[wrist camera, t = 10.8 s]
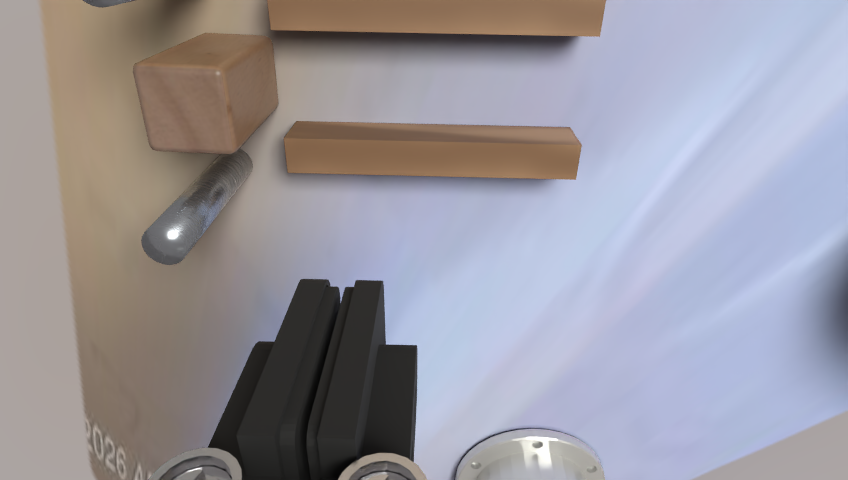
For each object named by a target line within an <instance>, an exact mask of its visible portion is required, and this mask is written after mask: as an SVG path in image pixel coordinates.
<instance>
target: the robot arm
mask: <svg viewBox="0 0 848 480" xmlns="http://www.w3.org/2000/svg"><path fill="white" fill-rule="evenodd" d="M416 403H417V345H386V341H385V311H384V285H383V281H367V280H357V281H356V282H355V285H354V287H346V288H345V290H344V294H343V297H342V301H341V304H340V292H339V288H338V287H330V283H329V280H323V279H301V280H300V282H299V284H298V286H297V289H296V291H295V293H294V296H293V298H292V301H291V303H290V306H289V308H288V311H287V313H286V315H285V318H284V320H283V323H282V325H281V328H280V330H279V333H278V335H277V337H276V340H275V342H260V341H259V342H258V343H256V344H255V346H254V348H253V349H252V351H251V354H250V356H249V358H248V360H247V362H246V365H245V367H244V369H243V371H242V373H241V376H240V378H239V380H238V382H237V384H236V387H235V389H234V391H233V393H232V395H231V398H230V400H229V402H228V404H227V406H226V409H225V411H224V413H223V415H222V417H221V420H220V422H219V424H218V426H217V428H216V431H215V433H214V435H213V437H212V439H211V442H210V444H209V446H208V448H199V449H195V450H190V451H186V452H184V453H182V454H180V455H178V456H175V457H173V458H172V459H170V460H169V461H167V462H166V463H165V464H163V465H162V466H160V467H159V468H158V469H157V470H156V471H155V472H154V474H153V475H152V476H151V477H150V478H149V479H148V480H427V479H426V476H425V474H424V473H423V472H422V470H421V469H420V468H419V466H418V465H417V464H415V463H414V444H415V425H416ZM456 480H605V477H604V471H603V468H602V466H601V463H600V460H599V458H598V457H597V455H596V454H595V452H594V451H593V450H592V449H591V448H590V447H589V446H588V445H586V444H585V443H584V442H582V441H580V440H578V439H577V438H575V437H573V436H570V435H567V434H564V433H561V432H557V431H552V430H545V429H522V430H515V431H510V432H505V433H502V434H499V435H496V436H493V437H491V438H489V439H487V440H485V441H483V442H481V443H479V444H478V445H477V446H475V447H474V448H473V449H471V450H470V451H469V452H468V453H467V454H466V455H465V457H464V458H463V459H462V461H461V463H460V464H459V466H458V468H457V473H456Z"/></svg>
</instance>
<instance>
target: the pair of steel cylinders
mask: <svg viewBox="0 0 848 480" xmlns="http://www.w3.org/2000/svg"><path fill="white" fill-rule="evenodd" d="M83 1H85V2H86V3H88V4H90V5H92V6H96V7H109V6H113V5H117V4H122V3H126V2H130V1H135V0H83ZM251 171H252V161H251V159H250V157H249V156H248V154H247V153H245V152H244V151H242V150H240V149H238V150H237V151H236V152H234V153H232V154H221V155H220V156H219V157H218V158H217V159H216V160H215V161H214V162H213V163H212V164H211V165H210V166H209V167H208V168H207V169H206V170H205V171H204V172H203V173H202V174H201V175H200V176H199V177H198V178H197V179H196V180H195V181H194V182H193V183H192V184H191V185H190V186H189V187H188V188H187V189H186V190H185V191H184V192H183V193H182V194H181V196H180V197H179V198H178V199H177V200H176V201H175V202H174V203H173V204H172V205H171V206H170V207H169V208H168V209H167V210H166V211H165V212H164V213H163V214H162V215H161V216H160V217H159V218H158V219H157V220H156V221H155V222H154V223H153V224H152V225H151V226H150V227H149V228H148V229H147V230H146V231H145V232H144V234H143V236H142V240H141V241H142V247H143V249H144V251H145V252H146V254H147V255H148V256H149V257H150V258H152V259H153V260H155V261H156V262H159V263H161V264H166V265H173V264H177V263H179V262H181V261H182V260H183V259H184V258H185V256H186V255H187V254H188V252H189V251H190V250H191V249H192V247H193V246H194V245H195V243H196V242H197V241H198V240H199V238H200V237H201V236H202V235H203V233H204V232H205V231H206V229H207V228H208V227H209V226H210V224H211V223H212V222H213V220H214V219H215V218H216V217H217V215H218V214H219V213H220V211H221V210H222V209H223V208H224V206H225V205H226V204H227V202H228V201H229V200H230V199H231V197H232V196H233V195H234V194H235V192H236V191H237V190H238V188H239V187H240V186H241V185H242V183H243V182H244V181H245V179H246V178H247V177H248V176H249V174H250V173H251Z"/></svg>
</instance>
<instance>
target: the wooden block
mask: <svg viewBox="0 0 848 480" xmlns="http://www.w3.org/2000/svg"><path fill="white" fill-rule="evenodd" d="M133 74H134V78H135V83H136V87H137V91H138V96H139V100H140V105H141V109H142V114H143V118H144V123H145V127H146V131H147V136H148V140H149V145H150V146H151V148H152V149H153V150H156V151H170V152H193V153H215V154H232V153H234V152H236V151H237V150H238V149H239V148H240V147H241V146H242V145H243V144H244V142H245V141H246V140H247V139H248V138H249V137H250V136H251V135H252V134H253V133H254V132H255V131H256V129H257V128H258V127H259V126H260V125H261V124H262V123H263V122H264V121H265V120H266V119H267V117H268V116H269V115H270V114H271V113H272V112H273V111H274V110H275V109H276V108H277V105H278V94H277V83H276V73H275V63H274V53H273V43H272V41H271V39H270V38H268V37H266V36H260V35H238V34H215V33H204V34H202V35H199V36H197V37H195V38H192V39H190V40H188V41H186V42H183V43H181V44H179V45H177V46H174V47H172V48H170V49H167V50H165V51H163V52H161V53H158V54H156V55H154V56H151V57H149V58H147V59H145V60H142V61H140V62H138V63H135V65H134V68H133Z"/></svg>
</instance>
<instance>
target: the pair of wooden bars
mask: <svg viewBox="0 0 848 480" xmlns="http://www.w3.org/2000/svg"><path fill="white" fill-rule="evenodd" d="M267 2H268V10H269V19H270V27H271V30H295V31H346V32H397V33H447V34H498V35H549V36H599V37H600V32H601V26H602V20H603V14H604V9H605V3H606V0H267ZM284 145H285V153H286V162H287V170H288V173H320V174H363V175H405V176H447V177H490V178H532V179H575V180H576V176H577V170H578V164H579V158H580V152H581V146H582V145H581V143H580V142H579V140H578V139H577V137H576V136H575V134H574V133H573V131H572V130H571V128H570V127H535V126H490V125H445V124H400V123H354V122H309V121H296V123H295V124H294V125H293V127H292V128H291V129H290V131H289V132H288V133H287V135H286V136H285V137H284Z"/></svg>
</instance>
